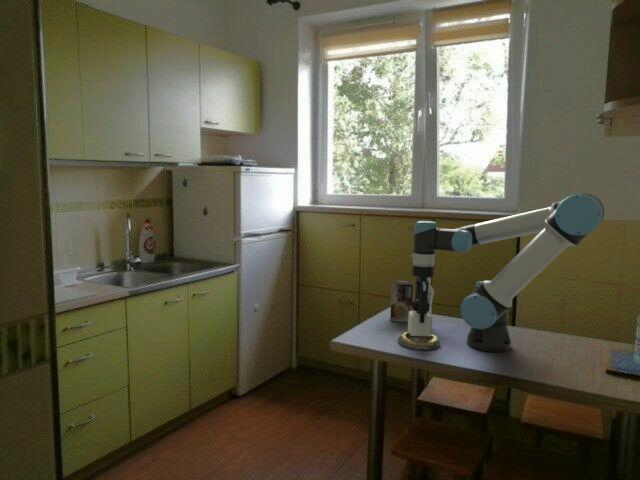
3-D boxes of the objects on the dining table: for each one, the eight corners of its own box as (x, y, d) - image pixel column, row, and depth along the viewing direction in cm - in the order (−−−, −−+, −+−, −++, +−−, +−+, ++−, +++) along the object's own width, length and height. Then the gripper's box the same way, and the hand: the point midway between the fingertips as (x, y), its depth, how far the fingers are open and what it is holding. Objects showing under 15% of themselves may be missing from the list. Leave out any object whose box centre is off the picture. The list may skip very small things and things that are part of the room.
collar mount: (436, 337, 184) (437, 331, 183) (443, 351, 169) (443, 344, 168) (396, 335, 185) (396, 329, 184) (399, 349, 170) (399, 342, 170)
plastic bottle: (414, 324, 200) (416, 276, 197) (431, 325, 199) (434, 276, 196) (415, 329, 194) (417, 279, 191) (432, 330, 193) (435, 280, 190)
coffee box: (412, 318, 208) (414, 281, 206) (411, 322, 202) (414, 284, 200) (391, 316, 210) (392, 279, 208) (389, 320, 204) (391, 282, 202)
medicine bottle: (431, 336, 173) (433, 303, 171) (410, 336, 173) (412, 302, 171) (427, 330, 180) (429, 298, 178) (407, 329, 180) (409, 297, 178)
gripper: (409, 259, 183) (406, 319, 186) (415, 269, 163) (411, 336, 166) (430, 260, 183) (426, 320, 186) (438, 270, 163) (434, 337, 166)
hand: (419, 327), depth 176 cm, fingers closed on medicine bottle, 7 cm apart
